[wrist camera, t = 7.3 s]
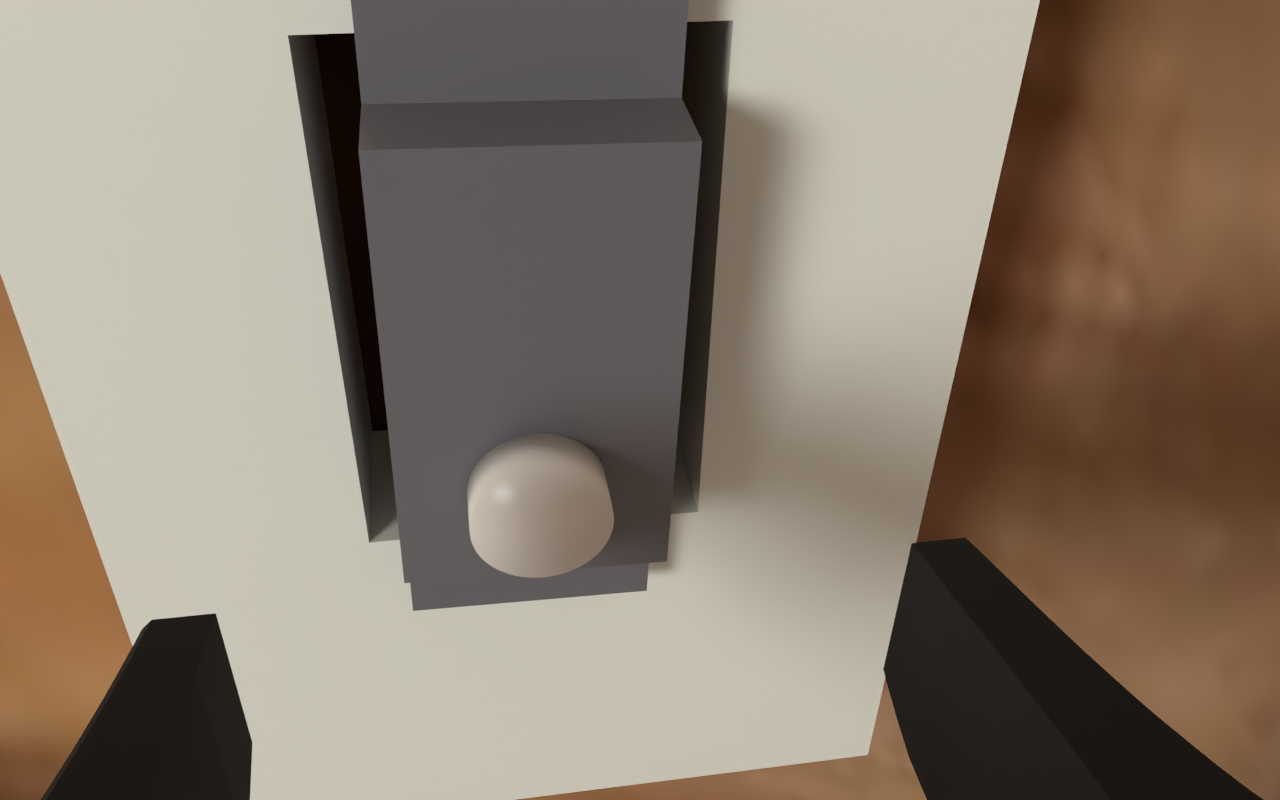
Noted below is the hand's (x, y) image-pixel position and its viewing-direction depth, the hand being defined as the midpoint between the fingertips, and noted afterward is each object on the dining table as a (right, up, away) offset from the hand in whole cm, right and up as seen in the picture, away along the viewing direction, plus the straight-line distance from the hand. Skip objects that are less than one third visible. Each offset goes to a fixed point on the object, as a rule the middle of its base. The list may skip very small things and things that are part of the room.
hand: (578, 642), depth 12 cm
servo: (-2, +6, +7) cm, 9 cm away
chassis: (-2, +4, +9) cm, 10 cm away
